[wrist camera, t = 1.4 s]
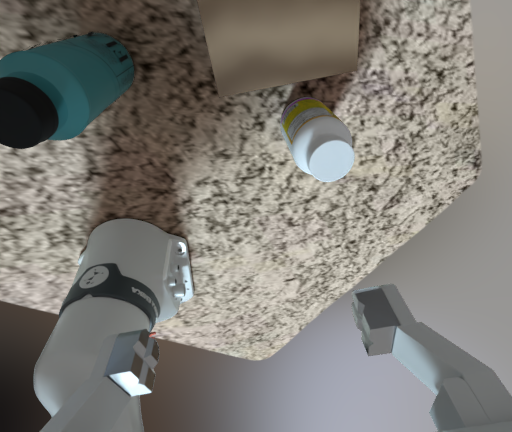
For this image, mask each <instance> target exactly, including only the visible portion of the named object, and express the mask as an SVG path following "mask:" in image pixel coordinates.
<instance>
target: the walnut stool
mask: <svg viewBox="0 0 512 432" xmlns="http://www.w3.org/2000/svg"><path fill="white" fill-rule="evenodd" d="M197 3H198V8H199V12H200V16H201V21H202V25H203V29H204V34H205V38H206V43H207V47H208V51H209V56H210V60H211V65H212V69H213V73H214V78H215V82H216V86H217V91H218V95H219V97H224V96H229V95H235V94H240V93H245V92H250V91H255V90H260V89H266V88H271V87H276V86H281V85H286V84H291V83H296V82H302V81H307V80H312V79H317V78H322V77H327V76H332V75H338V74H343V73H348V72H353V71H357V62H358V40H359V18H360V0H197Z"/></svg>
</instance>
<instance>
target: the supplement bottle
mask: <svg viewBox="0 0 512 432" xmlns="http://www.w3.org/2000/svg"><path fill="white" fill-rule="evenodd" d="M280 126H281V132H282V134H283V137H284V139H285V141H286V143H287V145H288V147H289V150H290V152H291V154H292V156H293V158H294V161H295V162H296V164H297V166H298V167H299V168H300V169H301V170H303V171H304V172H306V173H308V174H311V175H313V176H314V177H315V178H316V179H318V180H320V181H323V182H332V181H335V180H338V179H340V178H342V177H343V176H345V175H346V174H347V173H348V172H349V170H350V169H351V167H352V165H353V163H354V158H355V157H354V151H353V148H352V137H351V134H350V131H349V129H348V128H347V126H346V125H345V124H344V123H343V122H342V121H341V120H340V119H339V118H338V117H337V116H336V115H335V114H333V113H332V112H331V111H330V110H329V109H328V108H327V107H326V106H325V105H324V104H323V103H322V102H321V101H319V100H318V99H315V98H312V97H303V98H300V99H297V100H295V101H293V102H292V103H291V104H290V105H289V106H288V107H287V108H286V109H285V111H284V113H283V115H282V118H281V124H280Z"/></svg>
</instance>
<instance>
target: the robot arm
mask: <svg viewBox="0 0 512 432" xmlns="http://www.w3.org/2000/svg"><path fill="white" fill-rule="evenodd" d="M180 249H181V250H180ZM78 264H79V265H80V266H79V269H78V271H77V274H76V276H75V279H74V282H73V284H72V287H71V289H70V291H69V293H68V295H67V297H66V299H64V301H63V303H62V307H61V309H60V312H59V321H58V322H57V324H56V326H55V328H54V330H53V332H52V334H51V336H50V338H49V340H48V342H47V344H46V346H45V348H44V350H43V351H42V353H41V355H40V358H39V359H38V361H37V363H36V366H35V370H34V389H35V392H36V395H37V397H38V399H39V400H40V402H41V403H42V404H43V405H44V407H45V408H46V409H47V410H48V411H49V413H50V414H51V416H52V419H51V420H50V421H49V422H48V423H47V424H46V425H45V426H44V427H43V429H42V430H41V431H40V432H144V429H143V424H142V417H141V410H140V395H141V394H146V393H151V392H152V389H153V384H154V380H155V372H154V370H153V368H154V367H155V366H156V364H157V363H158V359H159V346H158V344H157V342H156V340H155V337H150V336H152V335H154V334H156V332H151V330H152V329H153V327H154V325H155V323H157V322H161V321H164V320H167V319H169V318H171V317H173V316H174V315H175V314H176V313H177V312H178V310H179V306H180V304H181V303H183V302H185V301H187V300H189V299H190V298H192V297H193V294H194V288H193V281H192V274H191V267H190V260H189V253H188V246H187V241H186V240H185V239H184V238H182V237H179V236H175V235H171V234H168V233H166V232H164V231H163V230H161V229H160V228H158V227H156V226H154V225H152V224H150V223H147V222H144V221H140V220H135V219H115V220H111V221H107V222H105V223H103V224H101V225H99V226H98V227H96V228H95V229H94V230H93V231H92V233H91V234H90V236H89V239H88V244H87V248H86V250H85V251H84V252H83V253H82V254H81V255H80V257H79V260H78ZM352 299H353V301H354V302H353V303H352V312H353V317H354V320H355V323H356V326H357V328H358V329H360V330H361V331H362V341H363V344H364V347H365V349H366V352H367V354H368V356H373V355H380V354H387V353H392V355H393V356H394V357H396V358H397V359H398V360H399V361H400V362H401V363H402V364H403V365H404V366H405V367H406V368H407V369H409V370H410V371H411V372H412V373H413V374H414V375H415V376H416V377H417V378H418V379H419V380H421V381H422V382H423V383H424V384H425V385H426V386H427V387H428V388H429V389H430V390H432V391H433V392H434V393H435V394H436V395H437V396H436V399H435V401H434V403H433V405H432V408H431V410H430V412H429V413H430V415H431V417H432V419H433V422H434V424H435V426H436V428H437V430H438V432H512V396H511V395H510V394H509V392H508V391H507V389H506V388H505V386H504V385H503V384H502V382H501V381H500V379H499V378H498V376H497V375H496V373H495V372H494V371H493V370H492V369H491V368H489V367H488V366H486V365H485V364H483V363H482V362H480V361H479V360H477V359H476V358H474V357H473V356H471V355H470V354H468V353H467V352H465V351H464V350H462V349H461V348H459V347H458V346H456V345H455V344H453V343H452V342H450V341H449V340H447V339H446V338H444V337H443V336H441V335H440V334H438V333H437V332H435V331H434V330H432V329H431V328H429V327H428V326H426V325H425V324H423V323H422V322H416V320H415V318H414V317H413V315H412V313H411V312H410V310H409V308H408V306H407V305H406V303H405V301H404V299H403V298H402V296H401V294H400V293H399V291H398V289H397V287H396V286H395V285H394V284H387V285H381V286H374V287H370V288H365V289H359V290H354V291H352ZM150 332H151V333H150Z"/></svg>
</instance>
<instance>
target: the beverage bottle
mask: <svg viewBox="0 0 512 432" xmlns="http://www.w3.org/2000/svg"><path fill="white" fill-rule="evenodd" d="M97 32H98V31H97ZM73 36H74V38H70V37H69V38H70V39H67V38H66V40H65V39H64V40H62V41H57V42H55V43H51V44H47V45H44V44H43V45H42V46H39V47H36V48H34V47H35V46H37V45H38V44H37V45H35V46H34V47H31V49H29V50H26V51H18V52H14V53H11V54H8V55H6V56H5V57H3V58H2V59H1V60H0V144H3V145H5V146H8V147H12V148H18V149H25V148H30V147H33V146H35V145H37V144H39V143H40V142H43V141H45V140H47V139H49V140H67V139H71V138H74V137H76V136H77V135H79V134H80V133H81V132H82V131H83V130H84V129H85V128H86V126H87V125H88V124H90V123H91V122H92V121H93V120H94V119H95V118H96V117H97V116H98V115H99V114H100V113H101V112H102V111H104V110H105V109H106V108H107V107H108V106H109V105H110V104H112V103H113V102H114V101H115V100H116V99H117V98H119V97H120V96H121V95H122V94H123V93H124V92H125V91H126V90H127V89H128V88H129V87H130V86H131V85H132V84H133V83H132V82H133V78H134V68H135V67H134V65H133V64H134V63H133V62H132V61H133V60H132V59H131V57H130V55H129V53H128V51H127V50H126V49H125V47H124V45H123V44H122V43H121V42H118V41H117V40H116V38H115V39H114V38H112V37H110V36H111V35H110V36H109V35H106V34H104V33H102V34H101V33H96V32H95V33H94V32H89V33H88V34H86V35H82V36H78V35H73ZM76 36H77V37H76ZM57 40H61V39H57ZM44 43H45V42H44ZM46 43H47V42H46ZM46 43H45V44H46ZM48 43H49V42H48ZM40 44H41V43H40ZM134 79H135V78H134ZM114 103H115V102H114ZM114 103H113V104H114Z"/></svg>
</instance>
